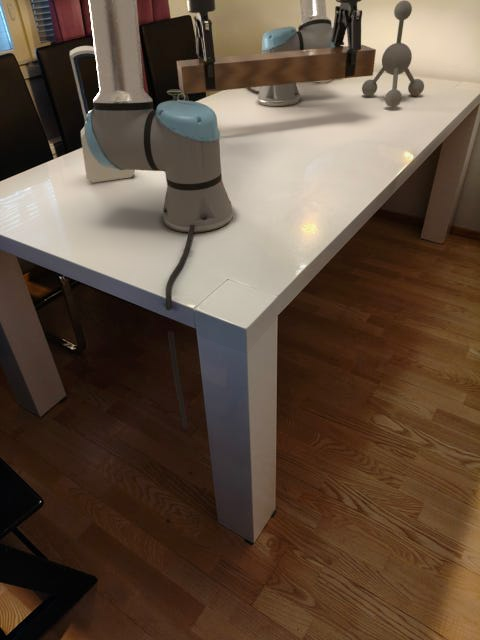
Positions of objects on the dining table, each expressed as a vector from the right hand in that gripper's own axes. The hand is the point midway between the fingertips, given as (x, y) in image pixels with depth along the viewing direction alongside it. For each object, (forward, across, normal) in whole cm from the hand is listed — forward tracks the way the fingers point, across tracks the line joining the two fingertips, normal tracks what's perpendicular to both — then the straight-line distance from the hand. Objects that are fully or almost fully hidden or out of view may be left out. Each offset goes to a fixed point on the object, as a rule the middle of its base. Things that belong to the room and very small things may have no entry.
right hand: (343, 72), depth 151 cm
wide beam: (0, 0, +22) cm, 22 cm away
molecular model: (+14, +14, -28) cm, 34 cm away
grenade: (+14, +17, +50) cm, 55 cm away
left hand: (-1, 0, +43) cm, 43 cm away
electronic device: (+13, -24, +75) cm, 80 cm away
